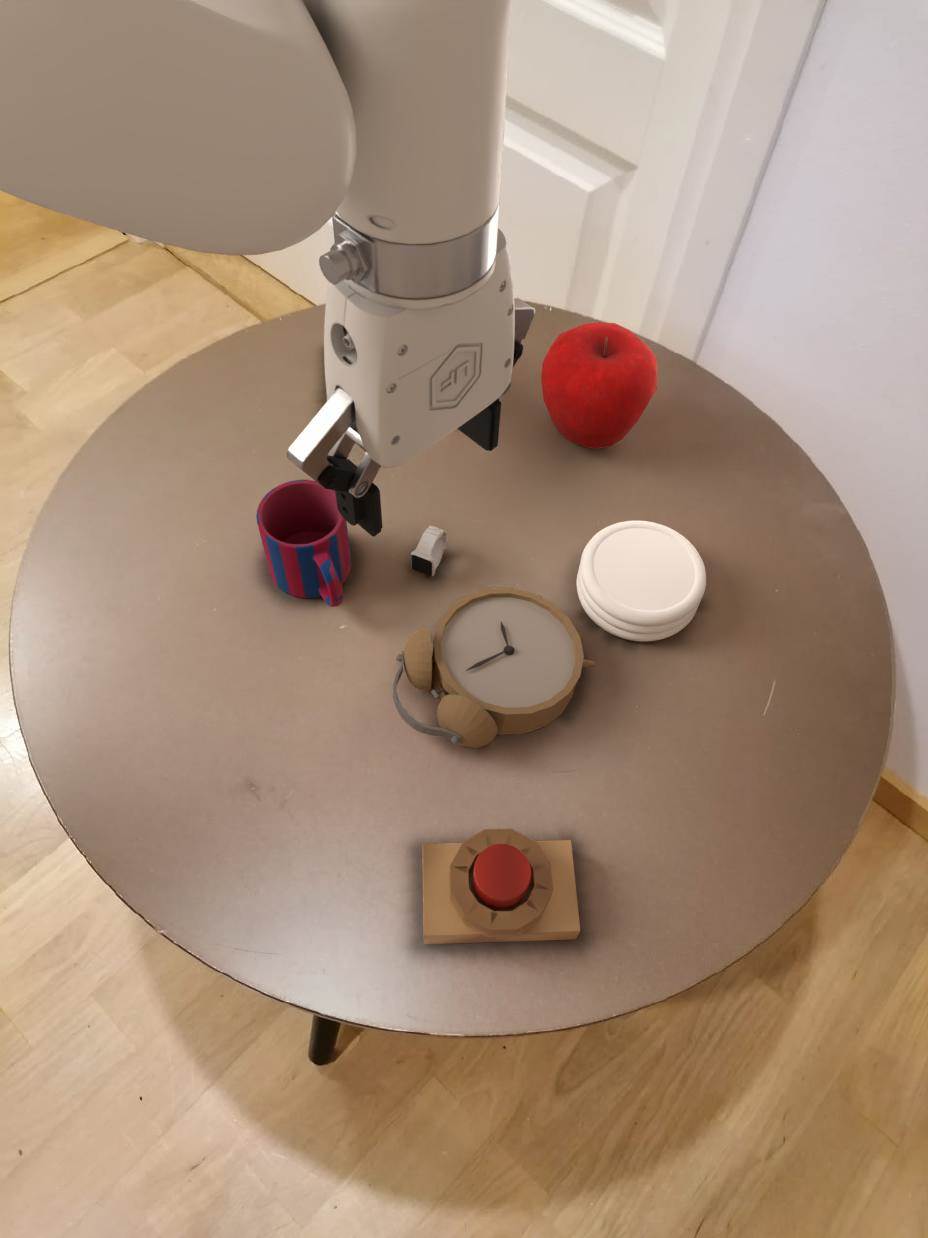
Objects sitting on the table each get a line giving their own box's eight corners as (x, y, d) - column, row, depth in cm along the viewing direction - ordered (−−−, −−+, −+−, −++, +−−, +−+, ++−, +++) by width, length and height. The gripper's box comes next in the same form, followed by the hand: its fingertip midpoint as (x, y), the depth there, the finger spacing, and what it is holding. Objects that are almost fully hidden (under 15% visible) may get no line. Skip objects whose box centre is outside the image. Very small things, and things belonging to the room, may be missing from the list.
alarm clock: (617, 671, 69) (447, 752, 62) (597, 707, 73) (435, 787, 66) (531, 565, 74) (365, 630, 67) (517, 604, 78) (358, 669, 71)
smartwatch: (428, 544, 78) (428, 514, 75) (452, 552, 78) (452, 523, 75) (410, 576, 77) (409, 547, 73) (434, 585, 76) (433, 556, 73)
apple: (516, 444, 85) (527, 350, 76) (562, 380, 90) (577, 284, 80) (616, 486, 83) (639, 395, 73) (657, 418, 87) (684, 324, 78)
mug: (338, 524, 79) (331, 470, 74) (373, 618, 74) (368, 568, 69) (260, 544, 78) (247, 491, 72) (290, 641, 73) (278, 592, 67)
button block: (423, 948, 61) (423, 932, 57) (422, 851, 64) (421, 830, 61) (576, 943, 61) (585, 927, 58) (566, 847, 65) (574, 826, 61)
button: (474, 909, 59) (475, 901, 57) (471, 853, 61) (472, 844, 59) (531, 907, 59) (533, 899, 57) (526, 851, 61) (529, 842, 59)
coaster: (714, 633, 75) (726, 609, 72) (594, 653, 73) (601, 630, 70) (674, 535, 80) (683, 509, 77) (561, 552, 78) (566, 526, 75)
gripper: (324, 360, 38) (354, 595, 53) (600, 190, 45) (560, 439, 59) (213, 273, 41) (270, 519, 55) (489, 125, 48) (476, 378, 62)
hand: (420, 477), depth 57 cm, fingers open, 9 cm apart
